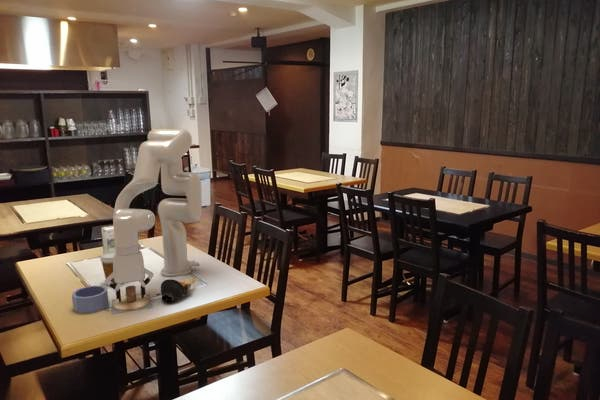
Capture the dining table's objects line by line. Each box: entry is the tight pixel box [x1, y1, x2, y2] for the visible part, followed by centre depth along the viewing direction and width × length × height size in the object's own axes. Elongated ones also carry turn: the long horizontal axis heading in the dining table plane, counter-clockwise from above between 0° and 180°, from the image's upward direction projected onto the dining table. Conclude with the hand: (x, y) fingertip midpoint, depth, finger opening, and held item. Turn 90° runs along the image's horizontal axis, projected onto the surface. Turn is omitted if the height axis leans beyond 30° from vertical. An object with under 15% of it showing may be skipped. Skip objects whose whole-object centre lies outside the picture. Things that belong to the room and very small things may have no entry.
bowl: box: [71, 284, 109, 314], centre depth 156 cm, size 11×11×6 cm
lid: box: [113, 285, 150, 312], centre depth 158 cm, size 12×12×6 cm
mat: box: [111, 293, 154, 315], centre depth 158 cm, size 13×13×1 cm
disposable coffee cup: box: [99, 251, 124, 287], centre depth 177 cm, size 10×10×12 cm
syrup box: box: [101, 225, 116, 254], centre depth 209 cm, size 6×6×14 cm
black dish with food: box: [160, 277, 197, 304], centre depth 165 cm, size 9×11×18 cm
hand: (131, 298), depth 158 cm, fingers open, 6 cm apart
